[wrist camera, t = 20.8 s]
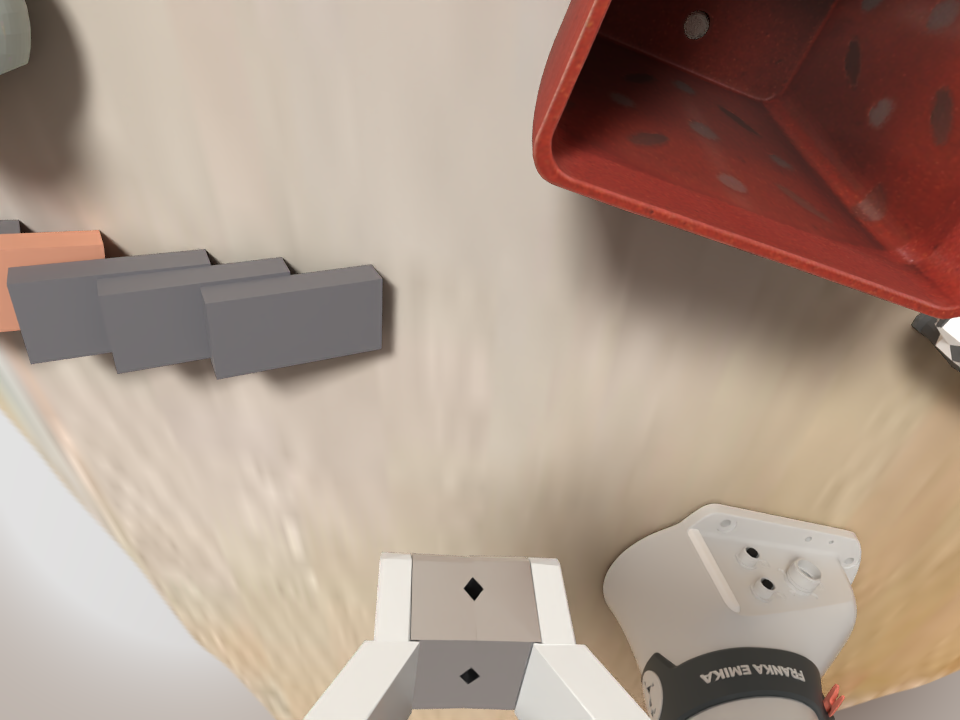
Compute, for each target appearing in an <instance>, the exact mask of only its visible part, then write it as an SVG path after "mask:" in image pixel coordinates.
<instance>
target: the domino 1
mask: <svg viewBox="0 0 960 720" xmlns="http://www.w3.org/2000/svg"><path fill="white" fill-rule="evenodd" d="M95 259H105V253H104V245H103V241H102V238H101V235H100V231H99V230H93V231H67V232H42V233H16V234H0V332H6V331H16V330H20V327H19V324H18V320H17V317H16V314H15V311H14V307H13V304H12V301H11V298H10V294H9V291H8V288H7V275H8V268H10V267H20V266H31V265H42V264H52V263H63V262H74V261H84V260H95Z"/></svg>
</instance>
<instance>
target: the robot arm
mask: <svg viewBox="0 0 960 720" xmlns="http://www.w3.org/2000/svg"><path fill="white" fill-rule="evenodd" d="M860 561H861V546H860V542H859V540H858V538H857V536H856V534H855V533H854V532H851V531H848V530H844V529H839V528H834V527H829V526H824V525H819V524H815V523H810V522H805V521H800V520H795V519H790V518H785V517H780V516H776V515H771V514H766V513H761V512H756V511H751V510H746V509H741V508H737V507H732V506H727V505H722V504H708V505H705V506H703V507H701V508H699V509H698V510H696V511H695V512H693V513H692V514H691V515H689V516H688V517H687V518H685V519H684V520H683V521H681V522H680V523H678V524H676V525H674V526H671V527H669V528H666V529H663V530H661V531H658V532H656V533H653V534H651V535H649V536H647V537H645V538H643V539H641V540H639V541H638V542H636V543H635V544H633V545H632V546H630V547H629V548H628V549H626V550H625V551H624V552H623V553H622V554H621V555H620V556H619V557H618V558H617V559H616V560H615V561H614V562H613V564H612V565H611V567H610V568H609V570H608V572H607V574H606V577H605V580H604V584H603V594H604V599H605V601H606V604H607V605H608V607H609V608H610V610H611V611H612V613H613V614H614V616H615V618H616V619H617V621H618V623H619V625H620V626H621V628H622V630H623V632H624V634H625V636H626V638H627V641H628V643H629V645H630V647H631V650H632V652H633V654H634V657H635V659H636V662H637V664H638V667H639V670H640V672H641V675H642V678H641V682H642V687H643V695H644V700H645V705H646V709H647V713H648V715H647V714H646V713H645V712H644V711H643V710H642V708H641V707H640V706H639V705H638V704H637V703H636V702H635V700H634V699H633V698H632V697H631V696H630V695H629V694H628V693H627V691H626V690H625V689H624V688H623V687H622V686H621V685H620V684H619V682H618V681H617V680H616V679H615V678H614V677H613V676H612V675H611V673H610V672H609V671H608V670H607V669H606V668H605V667H604V665H603V664H602V663H601V662H600V661H599V660H598V659H597V658H596V656H595V655H594V654H593V653H592V652H591V651H590V650H589V649H588V647H587V646H586V645H582V644H576V640H575V635H574V630H573V625H572V620H571V615H570V610H569V605H568V600H567V595H566V590H565V585H564V580H563V575H562V570H561V565H560V563H559V561H558V560H557V558H531V557H528V558H526V557H515V556H469V557H467V556H451V555H434V554H417V553H412V556H411V553H394V552H382V553H381V558H380V565H379V579H378V592H377V605H376V618H375V632H374V640H365V641H364V642H363V643H362V645H361V646H360V647H359V648H358V650H357V651H356V652H355V654H354V655H353V656H352V657H351V659H350V660H349V661H348V662H347V664H346V665H345V666H344V667H343V669H342V670H341V671H340V673H339V674H338V675H337V676H336V678H335V679H334V680H333V681H332V683H331V684H330V685H329V687H328V688H327V689H326V690H325V692H324V693H323V694H322V695H321V697H320V698H319V699H318V701H317V702H316V703H315V704H314V706H313V707H312V708H311V709H310V711H309V712H308V713H307V715H306V716H305V717H304V718H303V720H408V718H409V716H410V714H411V712H412V709H446V708H473V709H501V710H515V712H514V713H515V714H516V716H517V718H518V719H519V720H835V718H834V716H833V714H834V713H835V712H836V710H837V709H838V707H839V706H840V705H841V703H842V702H843V700H844V698H845V697H844V696H841V697H839V698H838V699H837V700H836V698H837V697H838V692H839V685H837V684H835V685H834V686H833V687H832V689H831V690H830V692H829V693H828V694H827V696H826V697H824V695H823V693H822V688H821V678H822V676H823V675H824V674H825V672H826V671H827V670H828V668H829V667H830V666H831V664H832V663H833V661H834V660H835V659H836V657H837V656H838V654H839V653H840V651H841V650H842V648H843V647H844V645H845V644H846V642H847V640H848V639H849V637H850V635H851V633H852V630H853V628H854V625H855V621H856V616H857V605H856V599H855V596H854V592H853V589H852V587H851V584H852V582H853V580H854V578H855V576H856V574H857V571H858V568H859V565H860Z"/></svg>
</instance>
